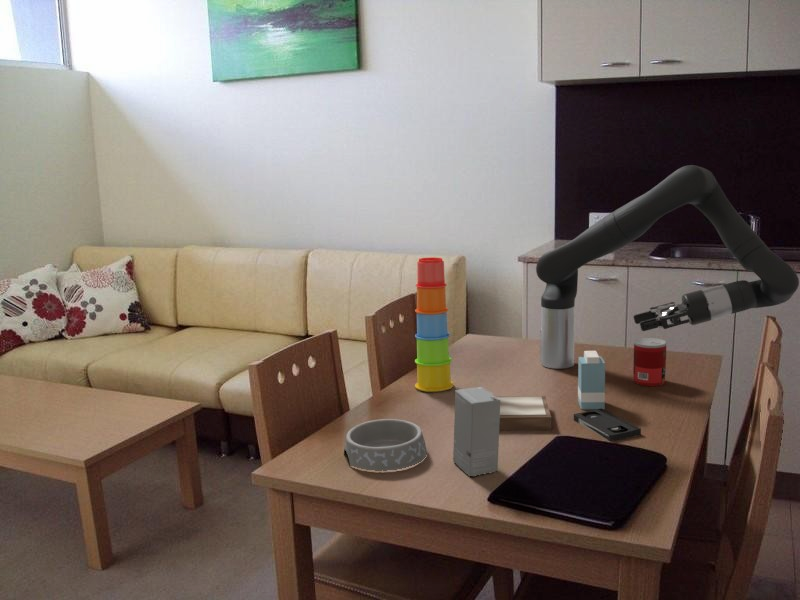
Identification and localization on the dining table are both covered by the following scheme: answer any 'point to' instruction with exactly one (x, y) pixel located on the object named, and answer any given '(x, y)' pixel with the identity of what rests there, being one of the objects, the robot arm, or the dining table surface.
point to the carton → (591, 381)
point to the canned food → (649, 361)
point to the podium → (524, 413)
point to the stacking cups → (432, 327)
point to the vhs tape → (607, 424)
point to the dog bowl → (385, 445)
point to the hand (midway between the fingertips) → (637, 323)
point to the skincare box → (476, 431)
